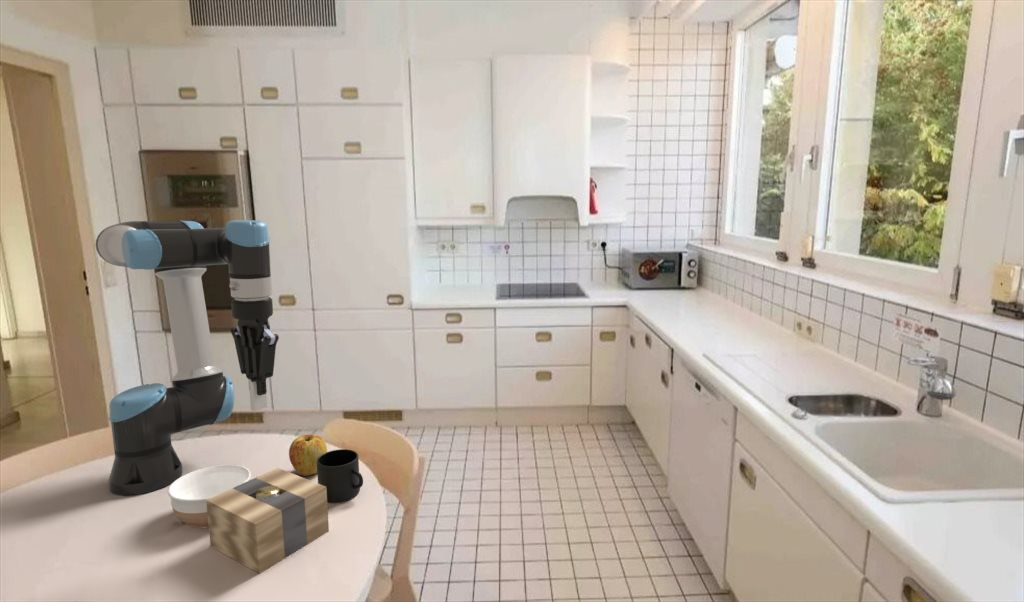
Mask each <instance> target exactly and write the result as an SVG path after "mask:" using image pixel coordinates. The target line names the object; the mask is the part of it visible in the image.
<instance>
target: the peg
mask: <svg viewBox="0 0 1024 602" xmlns="http://www.w3.org/2000/svg"><path fill="white" fill-rule="evenodd" d="M278 495H280V491H279V487H277V486H266V487H263V488H260V489H259V490H257V491H256V499H257V500H259V501H261V502H266V501H268V500H270V499H272V498H274V497H276V496H278Z"/></svg>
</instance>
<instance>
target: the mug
mask: <svg viewBox="0 0 1024 602" xmlns="http://www.w3.org/2000/svg"><path fill="white" fill-rule="evenodd" d="M359 460H360V459H359V453H358V452H357V451H355V450H352V449H345V448H342V449H340V448H339V449H333V450H330V451H327V452H326V453H324V454H322V455H321V456H319V457H318V459H317V473H316V475H317V483H318V484H320V485H323V486H326V489H327V503H329V504H330V503H331V504H333V503H334V504H335V503H337V504H338V503H343V502H346V501H347V502H348V501H349V500H351V499H354V498H355V497H356V496H357V495H358V494H359V492H360V490H361V488H362V486H363V484H364V477H363V475H362V473H361V472H360V463H359Z"/></svg>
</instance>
